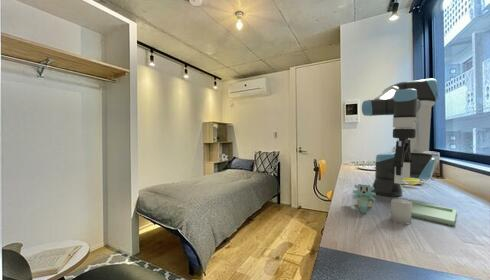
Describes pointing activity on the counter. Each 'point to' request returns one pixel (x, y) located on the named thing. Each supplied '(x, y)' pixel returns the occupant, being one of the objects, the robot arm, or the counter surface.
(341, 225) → the counter surface
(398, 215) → the cream rounded capsule
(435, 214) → the tray
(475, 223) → the counter surface
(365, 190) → the toy
